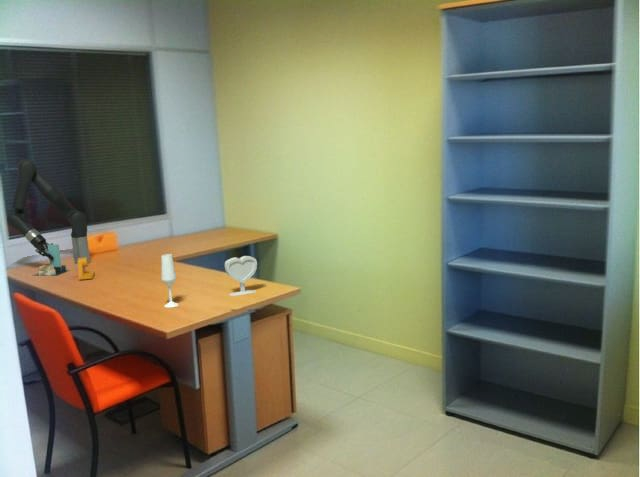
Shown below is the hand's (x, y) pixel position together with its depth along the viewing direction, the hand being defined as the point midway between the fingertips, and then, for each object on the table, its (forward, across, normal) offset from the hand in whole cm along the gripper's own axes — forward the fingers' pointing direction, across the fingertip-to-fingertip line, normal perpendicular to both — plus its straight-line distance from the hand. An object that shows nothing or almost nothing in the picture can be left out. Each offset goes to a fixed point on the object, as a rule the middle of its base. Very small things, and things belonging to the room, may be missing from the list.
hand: (55, 258), depth 363 cm
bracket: (+26, -10, -13) cm, 30 cm away
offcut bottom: (+5, -8, +6) cm, 11 cm away
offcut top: (+3, -8, +4) cm, 10 cm away
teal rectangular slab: (+5, 0, +6) cm, 8 cm away
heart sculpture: (+98, -31, -85) cm, 133 cm away
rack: (+6, -4, +7) cm, 10 cm away
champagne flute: (+79, -54, -66) cm, 117 cm away
